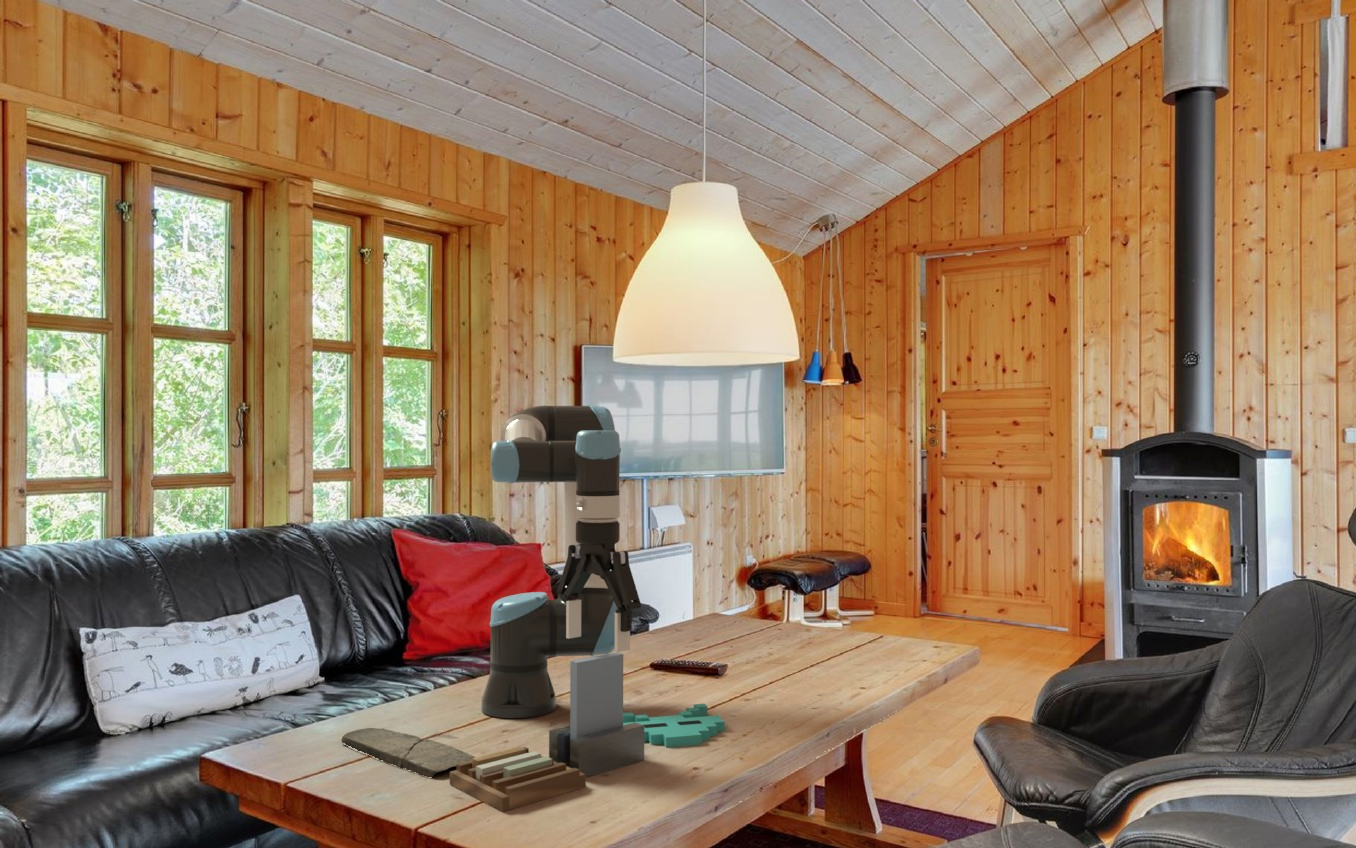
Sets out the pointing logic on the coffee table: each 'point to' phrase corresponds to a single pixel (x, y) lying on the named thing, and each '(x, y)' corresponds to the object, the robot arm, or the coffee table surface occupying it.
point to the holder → (598, 748)
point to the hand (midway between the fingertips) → (597, 644)
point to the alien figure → (678, 727)
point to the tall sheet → (596, 694)
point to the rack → (517, 784)
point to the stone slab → (406, 750)
